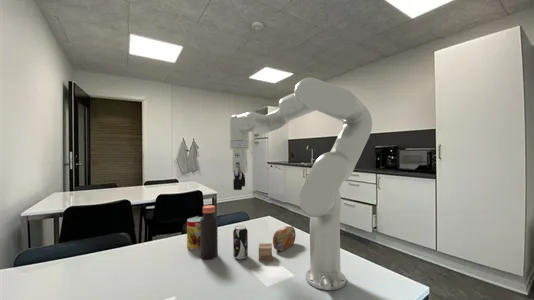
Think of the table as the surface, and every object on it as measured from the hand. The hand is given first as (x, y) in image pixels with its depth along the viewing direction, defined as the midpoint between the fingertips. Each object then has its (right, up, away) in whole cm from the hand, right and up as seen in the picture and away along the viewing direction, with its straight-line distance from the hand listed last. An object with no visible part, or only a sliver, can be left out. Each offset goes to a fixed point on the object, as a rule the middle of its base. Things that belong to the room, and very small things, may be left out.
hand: (239, 188), depth 95 cm
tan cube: (+10, -28, -2) cm, 30 cm away
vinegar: (-12, -28, 0) cm, 31 cm away
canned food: (-21, -28, +12) cm, 37 cm away
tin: (+19, -28, +9) cm, 35 cm away
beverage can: (+1, -28, -1) cm, 28 cm away
